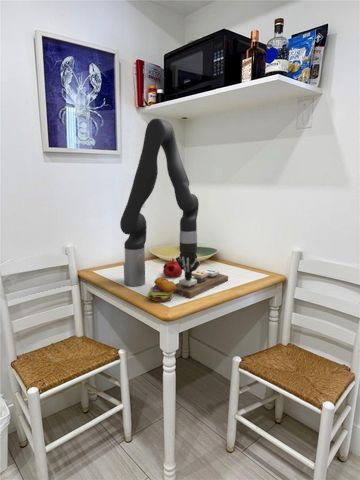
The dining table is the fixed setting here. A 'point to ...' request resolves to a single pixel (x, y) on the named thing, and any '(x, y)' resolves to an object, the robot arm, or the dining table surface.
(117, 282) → the dining table surface
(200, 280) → the key two
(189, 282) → the key one
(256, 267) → the dining table surface
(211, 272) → the key three
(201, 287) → the key board
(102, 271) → the dining table surface
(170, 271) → the pomegranate
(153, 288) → the cheeseburger
